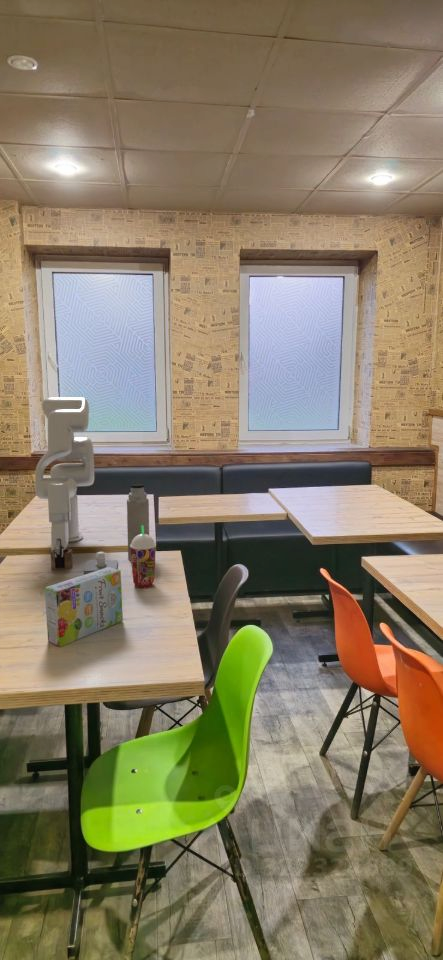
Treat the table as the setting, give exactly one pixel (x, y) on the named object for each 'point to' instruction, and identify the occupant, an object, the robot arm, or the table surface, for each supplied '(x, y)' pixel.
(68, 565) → the walnut ring
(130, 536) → the thermos bottle
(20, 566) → the table surface
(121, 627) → the table surface
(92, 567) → the post stand
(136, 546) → the smoothie
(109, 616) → the snack box
